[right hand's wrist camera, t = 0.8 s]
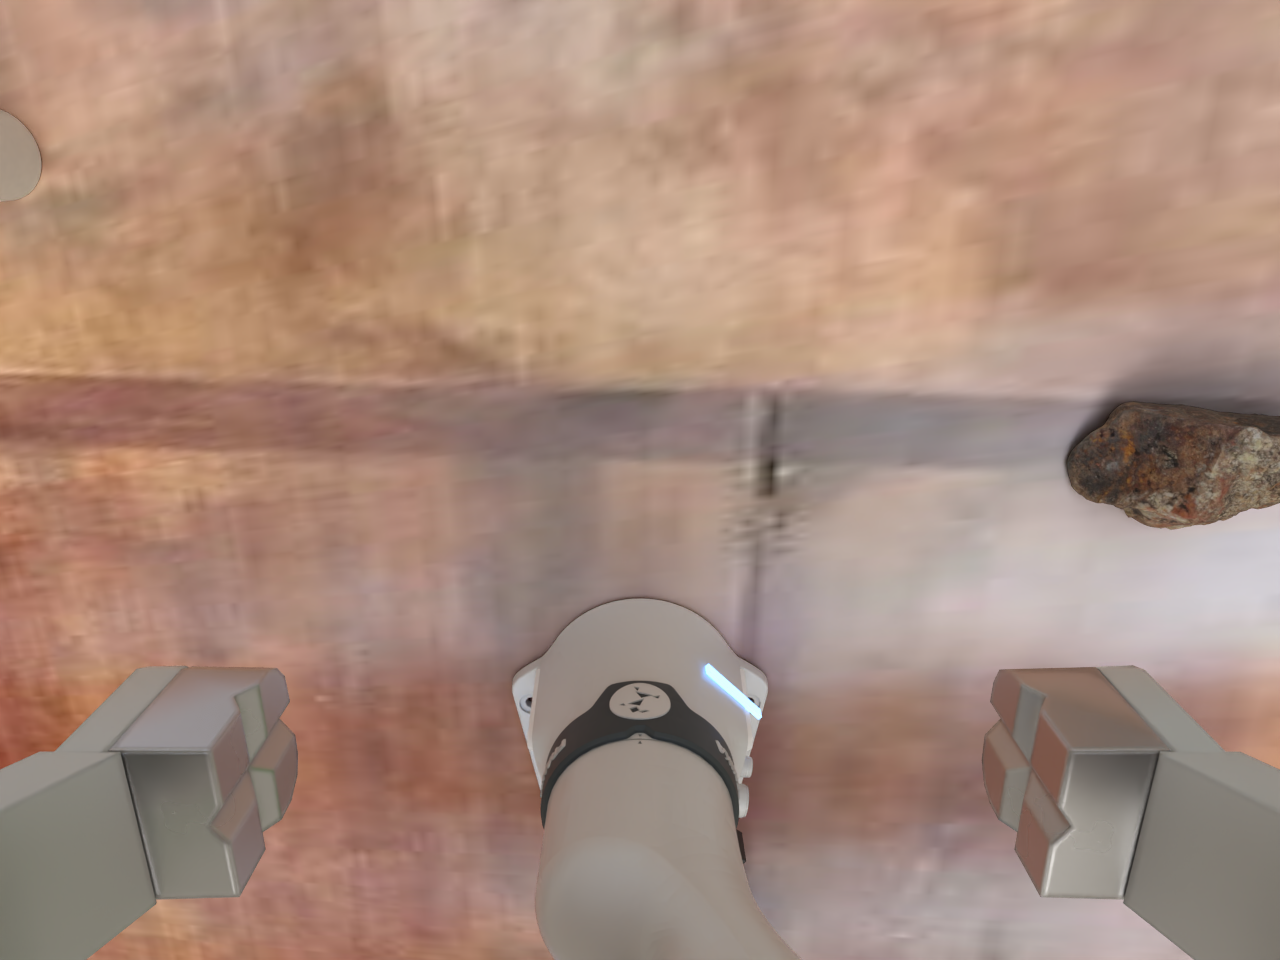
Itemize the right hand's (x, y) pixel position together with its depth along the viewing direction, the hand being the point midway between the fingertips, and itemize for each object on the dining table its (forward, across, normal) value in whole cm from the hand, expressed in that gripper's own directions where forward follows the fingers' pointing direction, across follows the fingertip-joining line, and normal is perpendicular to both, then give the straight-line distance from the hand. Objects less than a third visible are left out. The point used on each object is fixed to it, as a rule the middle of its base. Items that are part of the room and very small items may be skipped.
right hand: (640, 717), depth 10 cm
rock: (+48, +36, -13) cm, 61 cm away
